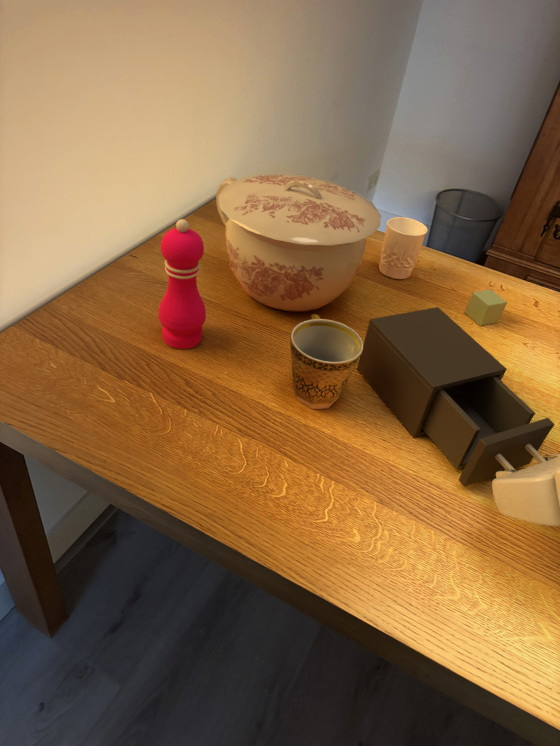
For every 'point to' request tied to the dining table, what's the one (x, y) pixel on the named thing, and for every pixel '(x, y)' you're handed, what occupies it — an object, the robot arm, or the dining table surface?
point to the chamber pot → (294, 237)
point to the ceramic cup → (322, 360)
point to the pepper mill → (182, 288)
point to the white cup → (401, 247)
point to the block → (485, 307)
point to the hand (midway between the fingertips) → (523, 469)
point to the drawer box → (420, 362)
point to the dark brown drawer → (484, 428)
